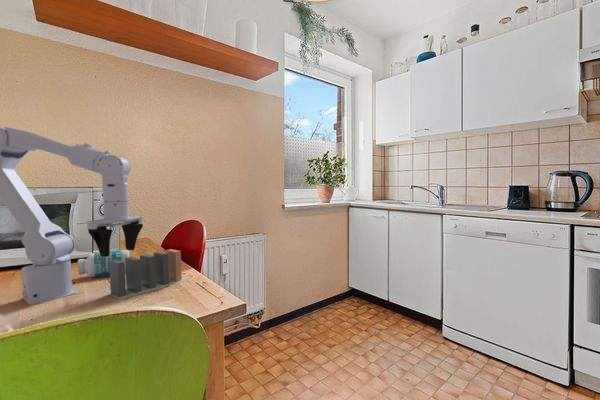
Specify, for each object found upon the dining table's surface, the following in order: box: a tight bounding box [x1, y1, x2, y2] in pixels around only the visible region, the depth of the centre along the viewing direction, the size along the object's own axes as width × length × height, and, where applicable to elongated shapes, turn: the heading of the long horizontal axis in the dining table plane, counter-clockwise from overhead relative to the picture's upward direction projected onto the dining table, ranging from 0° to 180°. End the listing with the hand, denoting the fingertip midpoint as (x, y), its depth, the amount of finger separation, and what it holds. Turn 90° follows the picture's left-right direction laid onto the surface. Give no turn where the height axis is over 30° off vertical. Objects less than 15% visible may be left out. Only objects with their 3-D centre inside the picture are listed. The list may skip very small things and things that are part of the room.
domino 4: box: [153, 251, 169, 285], centre depth 85 cm, size 2×5×8 cm, turn 53°
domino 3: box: [139, 253, 156, 289], centre depth 81 cm, size 2×5×8 cm, turn 53°
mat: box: [104, 277, 188, 300], centre depth 83 cm, size 18×10×1 cm, turn 143°
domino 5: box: [165, 248, 183, 281], centre depth 88 cm, size 2×5×8 cm, turn 53°
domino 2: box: [125, 256, 142, 293], centre depth 78 cm, size 2×5×8 cm, turn 53°
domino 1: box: [109, 260, 126, 298], centre depth 75 cm, size 2×5×8 cm, turn 53°
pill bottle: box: [77, 249, 130, 278], centre depth 94 cm, size 8×7×14 cm
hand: (118, 252), depth 79 cm, fingers open, 7 cm apart
